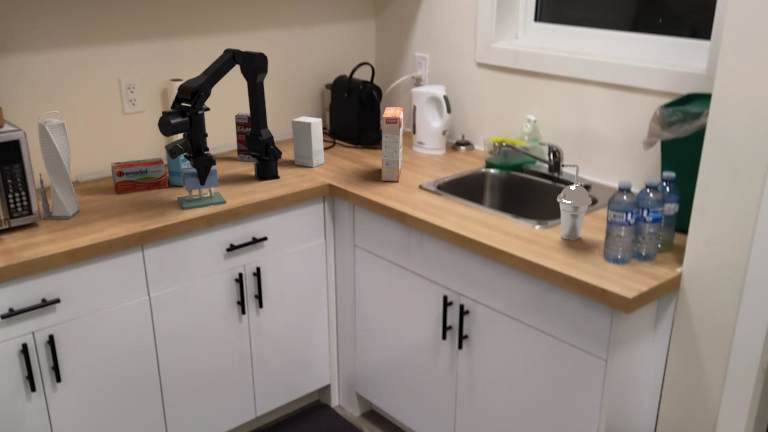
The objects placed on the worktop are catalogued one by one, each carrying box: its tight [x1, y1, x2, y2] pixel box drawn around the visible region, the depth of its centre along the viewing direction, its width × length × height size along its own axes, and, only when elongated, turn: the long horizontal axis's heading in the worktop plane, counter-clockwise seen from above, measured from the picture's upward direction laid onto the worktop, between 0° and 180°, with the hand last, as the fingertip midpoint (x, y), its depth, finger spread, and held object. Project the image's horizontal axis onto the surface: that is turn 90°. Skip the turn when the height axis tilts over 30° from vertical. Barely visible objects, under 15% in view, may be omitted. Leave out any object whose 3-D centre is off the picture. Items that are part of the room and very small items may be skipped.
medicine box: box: [110, 157, 169, 195], centre depth 214 cm, size 15×8×8 cm, turn 114°
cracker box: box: [381, 106, 404, 182], centre depth 224 cm, size 14×6×21 cm, turn 175°
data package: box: [165, 150, 192, 187], centre depth 219 cm, size 12×4×12 cm, turn 163°
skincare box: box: [291, 115, 325, 168], centre depth 236 cm, size 8×7×16 cm
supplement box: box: [234, 112, 256, 163], centre depth 241 cm, size 9×5×16 cm, turn 80°
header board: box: [176, 187, 227, 211], centre depth 203 cm, size 12×9×4 cm
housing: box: [181, 166, 219, 192], centre depth 201 cm, size 9×5×5 cm, turn 116°
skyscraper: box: [37, 110, 81, 221], centre depth 189 cm, size 8×8×28 cm
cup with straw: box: [556, 163, 592, 241], centre depth 178 cm, size 8×9×20 cm
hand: (200, 182), depth 202 cm, fingers closed on housing, 5 cm apart
